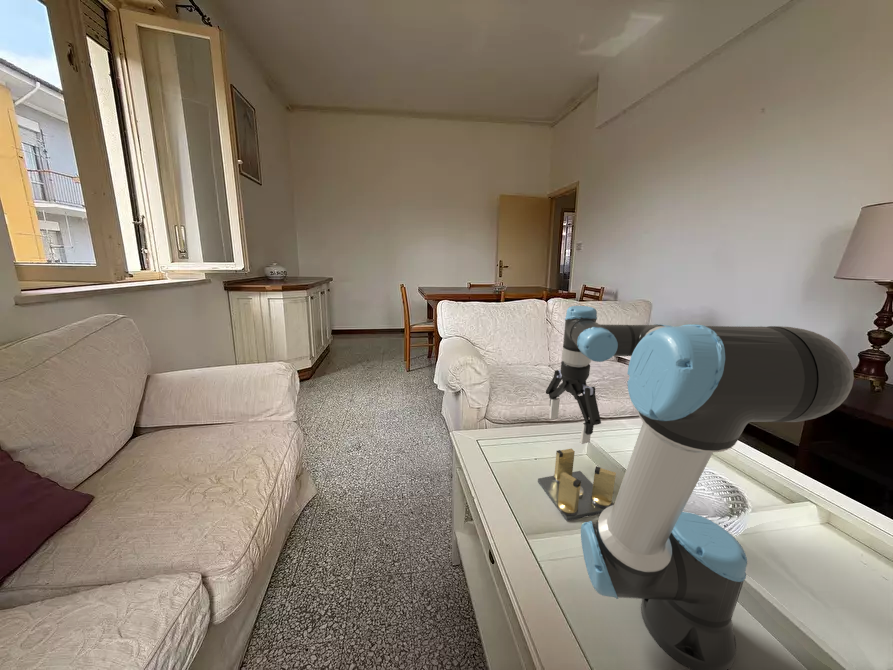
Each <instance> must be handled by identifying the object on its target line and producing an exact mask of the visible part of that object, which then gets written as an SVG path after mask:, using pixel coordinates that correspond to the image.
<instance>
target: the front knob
mask: <svg viewBox="0 0 893 670" xmlns="http://www.w3.org/2000/svg"><path fill="white" fill-rule="evenodd" d="M580 485H581V481H580V480H578V479H575V478H574V477H572V476H570V475H569V474H567V473H565V472H563V473H561V474H560V484H559V494H558V507H559V509H560V510H561V511H563V512H565V513H569V514H572V513H575V512H576V511H577V510H578V502H579V494H580Z"/></svg>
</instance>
